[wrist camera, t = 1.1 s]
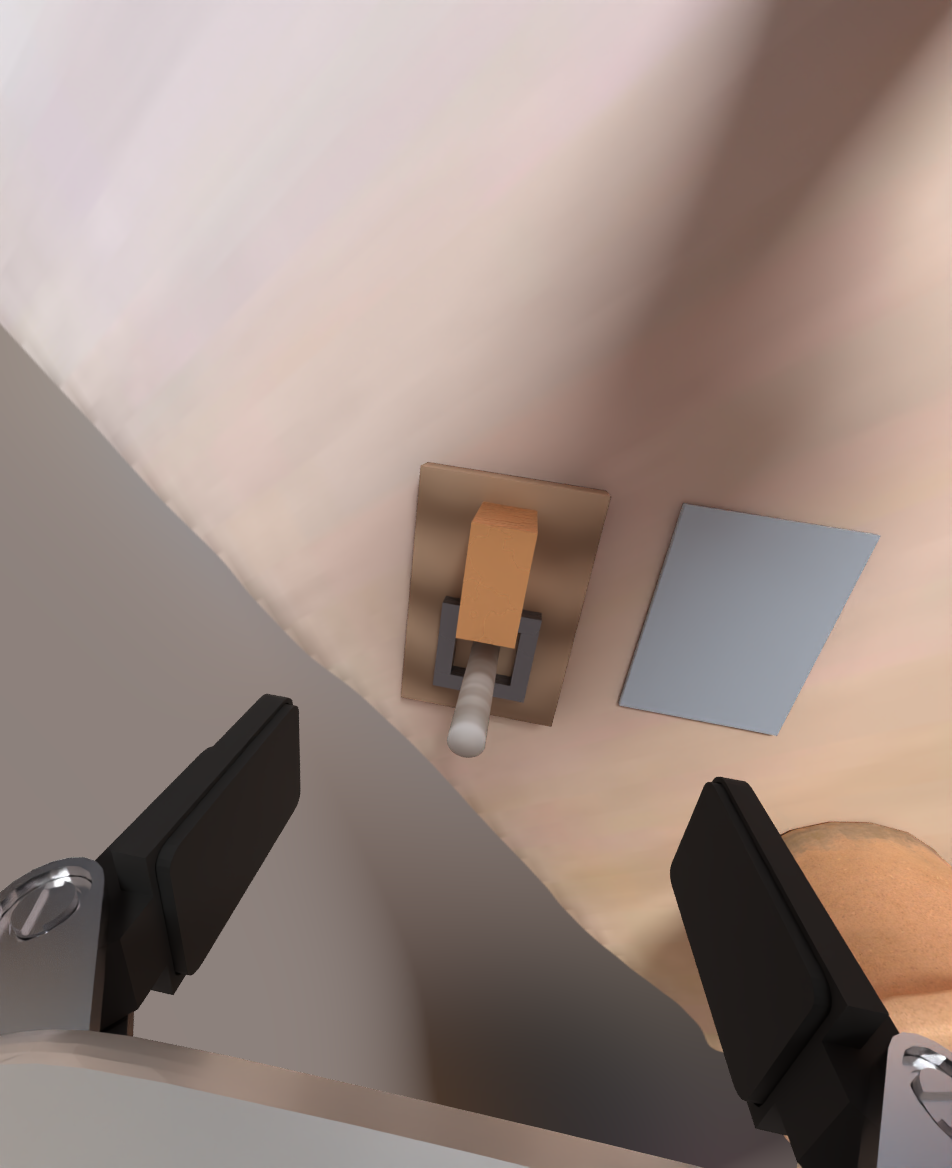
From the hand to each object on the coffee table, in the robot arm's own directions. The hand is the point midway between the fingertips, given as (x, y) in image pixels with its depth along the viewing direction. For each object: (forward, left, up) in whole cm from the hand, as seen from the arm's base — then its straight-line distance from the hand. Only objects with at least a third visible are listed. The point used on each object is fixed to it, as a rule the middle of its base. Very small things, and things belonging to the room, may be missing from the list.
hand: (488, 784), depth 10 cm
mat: (+4, +16, -22) cm, 28 cm away
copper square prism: (+5, -1, -20) cm, 21 cm away
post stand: (+5, -1, -22) cm, 23 cm away
